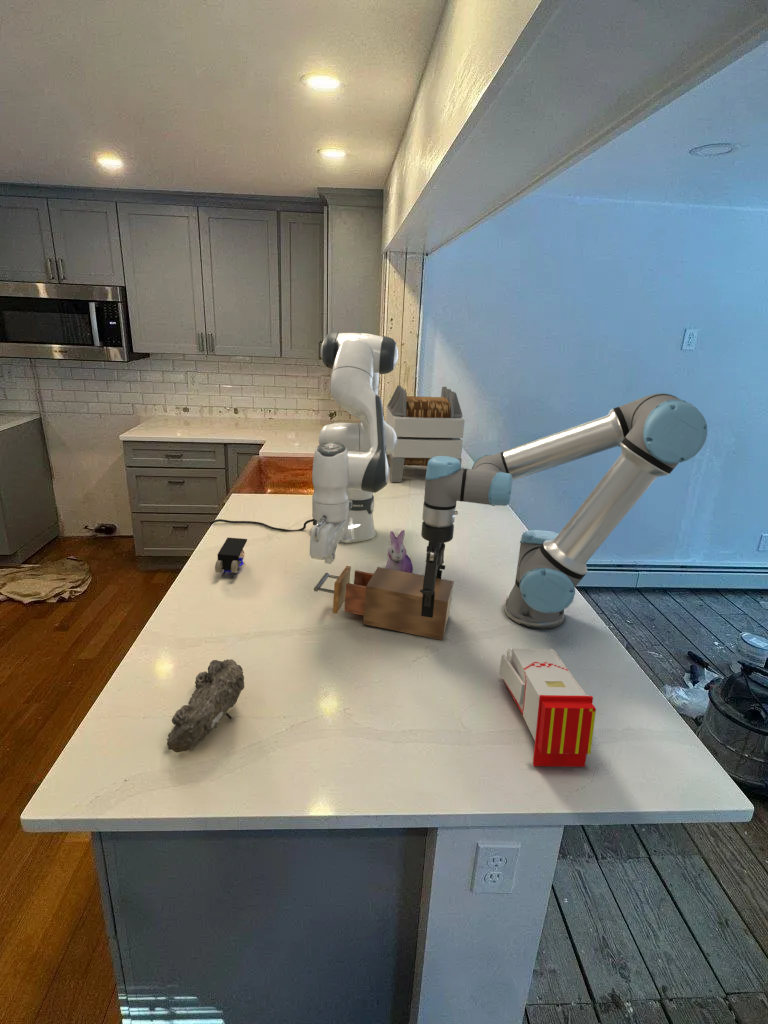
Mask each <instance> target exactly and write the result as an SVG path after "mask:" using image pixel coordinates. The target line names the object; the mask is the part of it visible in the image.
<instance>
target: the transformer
mask: <svg viewBox="0 0 768 1024" xmlns="http://www.w3.org/2000/svg"><path fill="white" fill-rule="evenodd" d="M440 393H441V394H440V396H415V395H414V396H413V395H412V396H411V395H407V394H408V393H407V390H406V389H404V388H403V387H402V385H399V384H398V385H397V386H396V388H395V390H394V392H393V394H392V395H391V398H390V400H389V402H388V404H387V405H386V413H385V414H386V415H385V422H386V423H387V424H389V425H390V426H391V427H392V428H393V429H394V430H395V432H396V435H397V444H396V447H395V449H394V451H393V452H392V453H391V454H388V455H386V456H387V460H388V465H389V480H390V482H391V483H402V482H403V475H404V469H405V466H406V467H407V466H411V467H412V466H413V467H415V466H416V467H417V466H418V467H427V464H428V461H429V460H430V459H431V458H432V457H436V456H449V457H453V458H457V459H458V460H459V461H460V466H461V467H462V461H463V460H462V453H463V442H464V441H463V440H462V439H463V438H464V431H465V430H464V429H465V419H464V418H463V411H462V408H461V405H460V402H459V398H458V395H457V392H455V391H453V390H452V389H451V388H447V386H442V387H441V392H440Z"/></svg>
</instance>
